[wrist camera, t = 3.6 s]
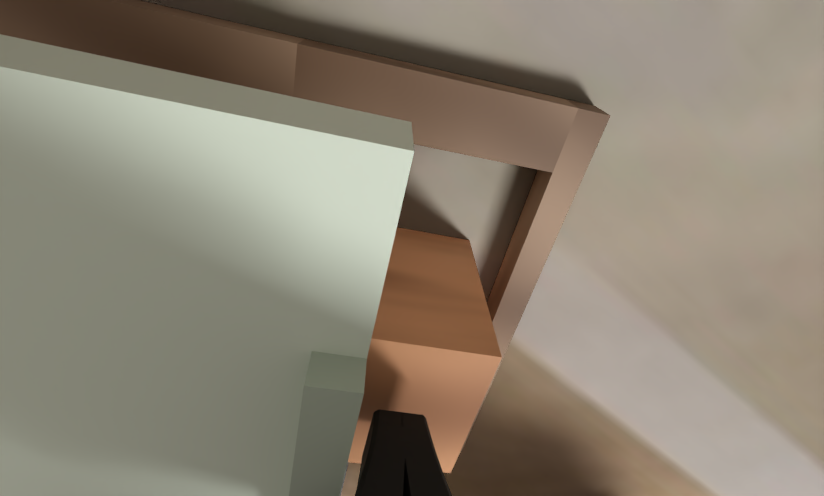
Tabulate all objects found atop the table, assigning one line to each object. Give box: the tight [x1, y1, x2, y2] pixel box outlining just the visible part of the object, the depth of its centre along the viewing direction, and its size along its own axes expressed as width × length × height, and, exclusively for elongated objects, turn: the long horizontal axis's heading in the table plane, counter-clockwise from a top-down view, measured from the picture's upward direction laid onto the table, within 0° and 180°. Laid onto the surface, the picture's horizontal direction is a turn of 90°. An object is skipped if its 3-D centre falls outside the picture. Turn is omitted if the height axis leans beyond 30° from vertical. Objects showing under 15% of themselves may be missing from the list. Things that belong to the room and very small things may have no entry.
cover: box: [0, 34, 414, 496], centre depth 10 cm, size 16×10×2 cm, turn 168°
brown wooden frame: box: [0, 0, 610, 452], centre depth 14 cm, size 16×24×6 cm
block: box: [348, 227, 502, 473], centre depth 15 cm, size 5×5×6 cm
